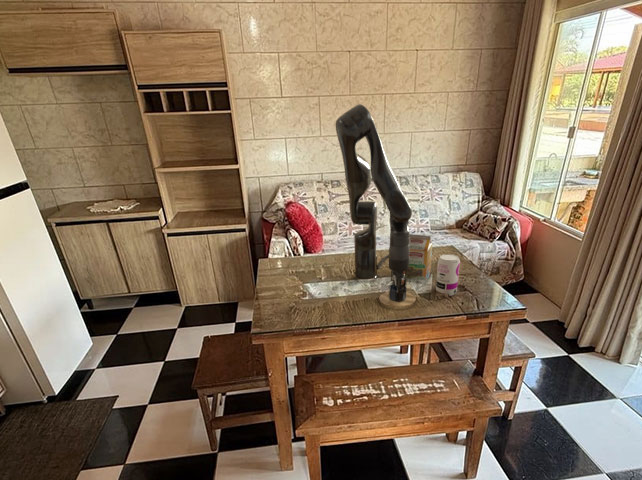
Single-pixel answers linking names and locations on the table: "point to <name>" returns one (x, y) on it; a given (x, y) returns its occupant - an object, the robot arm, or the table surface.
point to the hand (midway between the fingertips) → (397, 297)
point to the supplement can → (447, 274)
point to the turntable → (409, 300)
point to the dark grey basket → (394, 292)
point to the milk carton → (419, 257)
